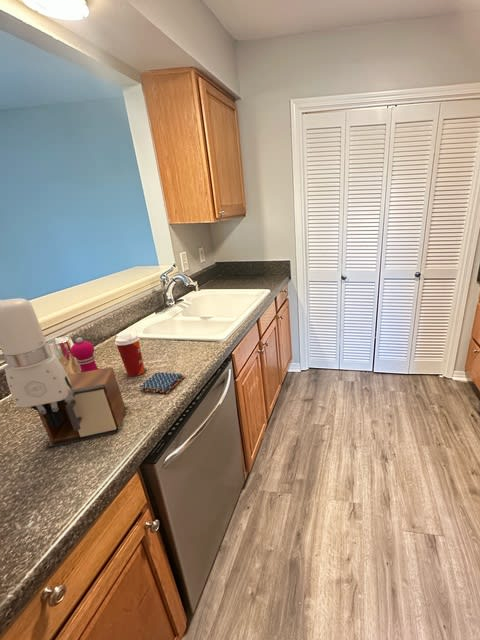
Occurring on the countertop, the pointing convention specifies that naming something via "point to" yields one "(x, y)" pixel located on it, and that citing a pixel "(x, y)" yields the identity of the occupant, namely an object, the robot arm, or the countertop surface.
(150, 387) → the woven mat
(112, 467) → the countertop surface
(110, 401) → the cabinet
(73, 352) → the pepper mill
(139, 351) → the paper cup
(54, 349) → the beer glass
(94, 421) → the sliding door
